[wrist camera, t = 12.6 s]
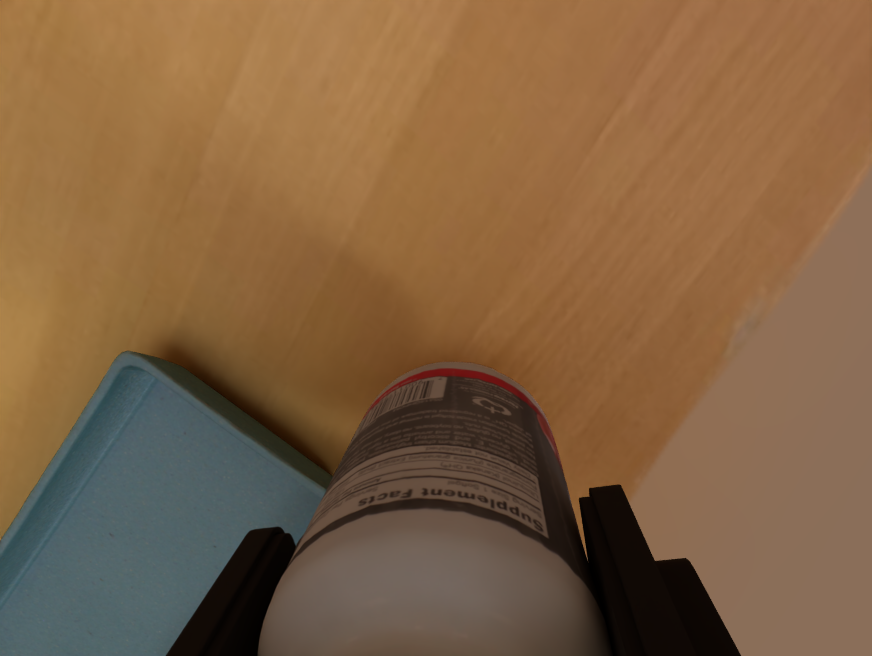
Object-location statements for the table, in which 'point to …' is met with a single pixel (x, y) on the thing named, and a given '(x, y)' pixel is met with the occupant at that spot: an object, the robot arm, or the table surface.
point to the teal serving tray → (143, 515)
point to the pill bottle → (442, 534)
